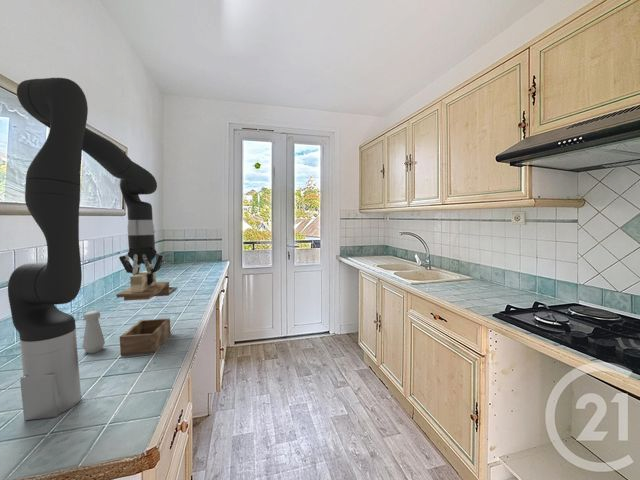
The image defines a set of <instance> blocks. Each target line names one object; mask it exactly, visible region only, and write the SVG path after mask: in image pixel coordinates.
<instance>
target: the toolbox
mask: <svg viewBox="0 0 640 480" xmlns="http://www.w3.org/2000/svg"><path fill="white" fill-rule="evenodd" d="M171 331H172V330H171V318H160V319H159V318H158V319H157V318H156V319H154V318H153V319H143V320H142V319H141V320H139V321H138V322H136V323H135V324H134V325H133V326H132V327H130V328H129V329H128V330H126V331H124V332H123V334H121V335H120V336H119V349H120V351H119V352H120V356H129V355H131V356H132V355H143V354H144V355H145V354H154V353H156V352H157V351H158V350H159V348H161V346H162V345H163V344H164V343H165V341H166V340H167V339H168V338H169V337H170V336H171Z"/></svg>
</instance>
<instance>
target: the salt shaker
mask: <svg viewBox="0 0 640 480" xmlns="http://www.w3.org/2000/svg"><path fill="white" fill-rule="evenodd" d="M100 318H101V313H100V311H99V310H90V311H87V312H85V313H84V314H83V320H84V321H85V327H84V333H83V334H84V335H83V340H82V348H83V350H84V352H85V353H86V354H94V353H99V352H100V351H102V350H103V348H104V347H105V346H104V345H105V341H106V340H105V338H104V334H103V331H102V328H101V324H100V320H99V319H100Z"/></svg>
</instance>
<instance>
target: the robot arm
mask: <svg viewBox="0 0 640 480" xmlns="http://www.w3.org/2000/svg"><path fill="white" fill-rule="evenodd" d="M16 96H17V100H18V102H19V104H20V105H21V107H22V108H23V109H24V110H25V111H26V112H27V113H28V114H29V115H30V116H31V117H32V118H34V119H36V120H37V121H38V122H40V123H41V124H43V125H44V126H46V127H47V128H49V131H48V135H47V137H46V140H45V142H44V143H43V145H41V146H42V147H40V149H39V151H38V152H37V153H36V155H35V156H34V158H33V159H32V160H31V162H30V164H29V166H28V168H27V171H26V175H25V186H24V187H25V191H24V200H25V201H24V202H25V206H26V208H27V210H28V212H29V213H30V216H31V217H32V218H33V220H34V221H35V223H36V225H37V226H38V227H39V229H40V230H41V232H42V234H43V237H44V238H45V242H46V250H47V254H46V255H47V262H32V263H31V262H30V263H25V264H22V265H20V266H18V267H17V268H15V269H14V270H13V271H12V273H11V274H10V277H9V279H8V285H7V296H8V302H9V308H10V313H11V314H10V315H11V318H12V324H13V327H14V328H15V330H16V331H17V332H18V334H19V341H20V357H21V365H22V375H23V376H21V377H20V379H19V380H20V393H21V401H22V402H21V403H22V411H23V420H24V421H30V420H39V419H47V418H56V417H58V416H59V415H61V414H62V413H64V412H66V411H68V410H70V409H72V408H73V407H74V406H76V405H77V404H79V402H80V401H81V399H82V391H81V390H82V389H81V378H80V367H79V356H78V355H79V354H78V353H79V351H78V344H77V343H78V341H77V329H76V327H77V325H76V318H75V316H73V315H71V314H68V312H67V313H66V312H63V311H62V310H60V309H59V308H58V307H57V306H56V305H63V304H65V305H66V304H68V303H70V302H72V301H73V300H75V299H76V298H77V297H78V295H79V293H80V291H81V287H82V278H83V277H82V261H81V249H80V248H81V247H80V235H79V234H80V203H81V186H82V185H81V170H82V168H81V167H82V159H83V157H82V156H83V152H84V153H86V154H87V155H88V156H90V157H91V158H92V159H93V160H95V161H96V162H97V163H98V164H99V165H100V166H101V167H102V168H103V169H105V170H106V171H107V172H108V173H109V174H110V175H112V176H113V177H115V178H117V179H119V189H120V192H121V195H122V197H123V199H124V203H125V206H126V208H127V209H126V210H127V242H128V251H127V254H125V255H121V256H119V257H118V258H119V261H120V262H121V264H122V266H123V268H124V270H125V271H126V273H127V274H132V276H134V275H136V274H138V273H141V267H142V264H143V265H144V266H145V269H146V270H147V273H148V274H147V284H148V285H151V284H152V283H153V282H154V275H153V273H154V272H155V273H156V272H158V271H160V269H161V267H162V264H163V262H164V260H165V254H161V253H158V252H157V250H156V244H155V243H156V242H155V241H156V240H155V225H154V220H153V219H154V218H153V207H152V204H151V203H150V202H147V201H142V200H141V198H140V196H141V195H151V194H154V193H155V192H156V191H157V189H158V183H157V180H156V178H155V176H154V175H153V174H152V173H151V172H150V171H149V170H147V169H146V168H144V167H143V166H141V165H140V164H137V162H134V161H132V159H131V158H130V157H129V156H128V155H127V154H126V153H125V152H124V151H123V150H122V148H120V147H119V146H118V145H117V144H115V143H113V141H110V140H109V139H107V138H105V137H104V136H101V135H100V134H99V133H96V132H94V131H92V130H91V129H89V128H87V122H88V121H87V120H88V114H89V112H88V111H89V107H88V101H87V97H86V94H85V92H84V91H83V89H82V88H81V86H80V85H79V84H78V83H77V82H75V80H72V79H69V78H65V77H49V78H48V77H45V78H32V79H26V80H23V81H21V82H20V83H19V84H18V85H17V87H16ZM153 259H155V260H156V262H155V264H154V262H153ZM130 260H131V261H132V264H131V262H130Z"/></svg>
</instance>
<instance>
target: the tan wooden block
mask: <svg viewBox="0 0 640 480" xmlns="http://www.w3.org/2000/svg"><path fill="white" fill-rule="evenodd" d="M147 274H148V273H147V269H146V270H143V271H140V272H139V273H138V274H136V275H134V276H133V275H132V276H129V278H130V279H129V280H130V287H128V288H127V289H124V290H121V291H120V292H118V293H116V295H115V296H116V298H123V301H124V302H126V301H141V300H144V301H145V300H151V299H152V298H153V297H169V296H170V295H172V294H173V293H175V292H176V291H177V290H178V286H170V281H159V282H158V281H157V277H156V276H157V275H156V272H154V273H153V275H154V282H153V283H152V284H151V285H148V284H147Z"/></svg>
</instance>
